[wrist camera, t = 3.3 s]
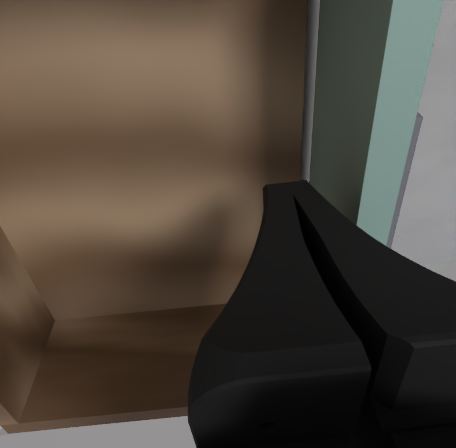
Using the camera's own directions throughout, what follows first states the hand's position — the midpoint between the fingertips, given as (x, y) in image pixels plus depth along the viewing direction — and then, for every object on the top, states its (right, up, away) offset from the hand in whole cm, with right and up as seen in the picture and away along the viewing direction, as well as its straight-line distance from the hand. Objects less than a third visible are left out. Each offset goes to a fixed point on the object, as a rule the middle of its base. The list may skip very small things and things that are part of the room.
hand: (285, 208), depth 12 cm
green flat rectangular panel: (+2, +3, +3) cm, 5 cm away
